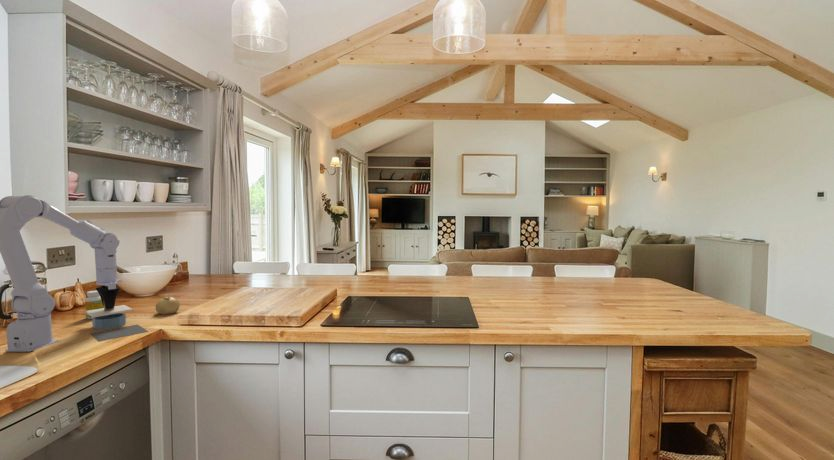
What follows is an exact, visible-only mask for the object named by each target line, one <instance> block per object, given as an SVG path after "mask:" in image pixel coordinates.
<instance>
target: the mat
mask: <svg viewBox="0 0 834 460" xmlns="http://www.w3.org/2000/svg"><path fill="white" fill-rule="evenodd" d="M148 332H149V331H148V330H147V329H145V328H144V327H142V326H141V325H139V324H132V325H127V326H123V327H122V326H120V327H115V328H109V329H104V330H100V331H99V330H98V331H95V332H90V333H89V334H90V335H91V336H92V337H93V338H94V339H95V341H97V342H99V343H100V342H105V341H110V340H114V339H119V338H124V337H128V336H134V335H138V334H145V333H148Z"/></svg>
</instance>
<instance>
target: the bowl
mask: <svg viewBox="0 0 834 460" xmlns="http://www.w3.org/2000/svg"><path fill="white" fill-rule="evenodd" d="M91 321H92V322H91V323H92V329H93V330H110V329H115V328H121V327H122V326H125V325H126V324H127V313H126V312H123V313H117V314H111V315H105V316H99V317H94V318H93V319H91Z"/></svg>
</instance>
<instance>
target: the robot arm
mask: <svg viewBox="0 0 834 460" xmlns="http://www.w3.org/2000/svg"><path fill="white" fill-rule="evenodd" d="M35 218H44V219H45V220H47V221H50V222H52V223H54V224H57V225H59V226H61V227H64V228H65V229H67V230H69V233H70V236H73V237H74V238H77V239H78V240H81V241H83V242H85V243H87V244H88V245H89V246H90V248H92V249H94V250H93V251H94V263H95V276H96V277H95V278H96V282H95V285H96V286H99V287H95V291H98V293H99V295H100V297H101V300H102V304H103V306H104V304H105V307H106V309H112V308H114V306H116V301H117V300H116V299H117V296H118V294H119V291H120V289H121V288H120V287H118V286H117V284H118V283H121V282H122V281H123V280H122V279H121V278H119V279H118V270H117V269H118V268H117V267H118V266H117V254H116V253H117V249H118V247H119V245H120V240H119V239H118V237H117V235H116V234H114V233H112V232H106V231H105V229H104V228H101V227H98V226H97V225H94V224H92V223H93V222H92V221H91V220H88V219H87V220H84V219H82V220H76V219H75V218H73V217H71V216H70V215H68V214H67V213H64V212H63V211H62V210H59V209H58V208H56V207H55V206H52V205H51V204H50V203H48V202H47V201H46V200H43V199H40V198H39V197H37V196H35V195H29V194H27V195H21V196H20V195H19V196H18V195H17V196H16V195H9V196H4V197H3V198H1V199H0V255H1V258H2V260H3V262H4V266H5V268H6V270H7V274H8V275H9V278H10V280H11V283H12V286H13V289H12V290H11V292H10V295H11V298H12V299H11V309H12V311H13V312H15V313H16V314H17V316H16V320H15V321H12V322H10V323H9V324H8V325H7V327H6V332H5V333H6V345H7V349H5V352H7V353H8V352H9V353H10V352H15V353H16V352H17V353H19V352H20V353H23V352H26V353H27V352H28V353H29V352H33V351H35V350H38V349H41V348H43V347H46V346H49V345H53V344H56V343H58V342H60V341H61V339H53V329H52V328H53V327H52V315H51V312H52V311H53V310H54V308H55V306H56V300H55V298H54V297H53V296H52V295H50V294H49V292H48V290H47V288H46V287H45V286H44V285H43V284H41V283H40V282H39V279H38V277H37V274H36V271H35V268H34V266H33V264H32V260H31V258H30V255H29V253H28V250H27V248H26V244H25V242H24V240H23V236H22V234H21V230H22V229H23V227H24V226H25V225H26V224H27V223H28V222H30V221H31V220H33V219H35Z"/></svg>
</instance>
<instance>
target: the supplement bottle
mask: <svg viewBox="0 0 834 460" xmlns="http://www.w3.org/2000/svg"><path fill="white" fill-rule="evenodd" d="M86 296H87V297H86V298H85V299H84V305H85V318H86V319H87V320H88V319H89V320H92V319H93V318H94V317H91V316H90V315H89V314H87V313H86V311H89V310H95V309H101V308H104V306H103V304H102V300H101V297H100V295H99V293H98V291H97V290H89V291H87V292H86Z"/></svg>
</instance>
